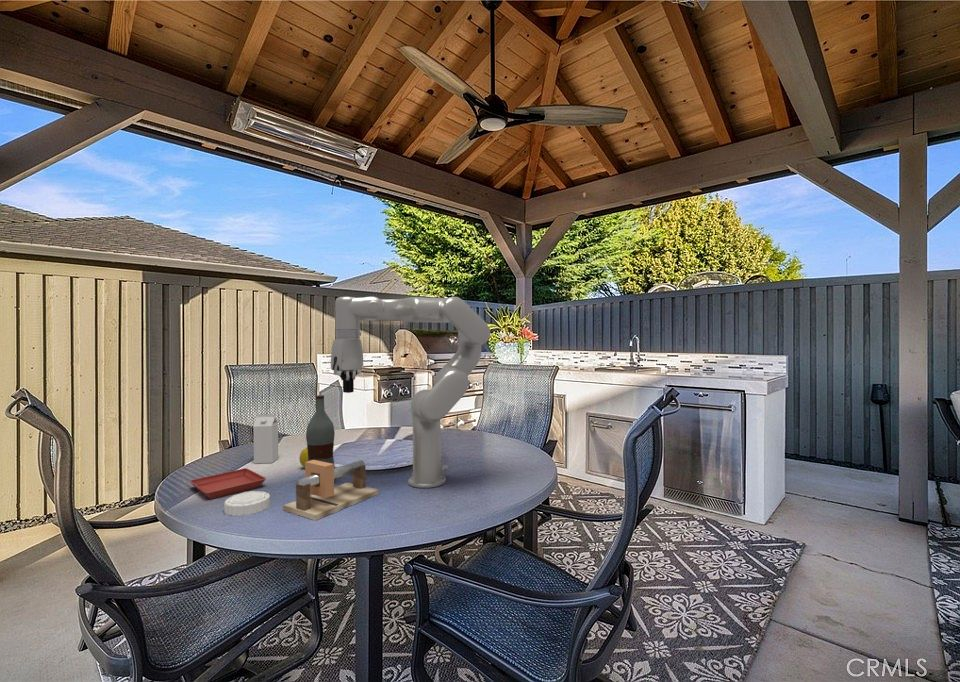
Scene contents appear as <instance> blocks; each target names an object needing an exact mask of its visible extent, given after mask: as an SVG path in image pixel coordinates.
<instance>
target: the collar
mask: <svg viewBox="0 0 960 682" xmlns="http://www.w3.org/2000/svg"><path fill="white" fill-rule="evenodd" d="M334 465H335V463H334V464H332V463H327V462H322V461H317V460H311V461H307V462H305V467H304V478H305V477H308V476H311V475H315V474H320V484H318V485H315V486H312V487H310V495H316V496H320V497H324V498H327V497H330V496H333V495H334V487H335V479H334Z"/></svg>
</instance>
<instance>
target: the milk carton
mask: <svg viewBox="0 0 960 682" xmlns="http://www.w3.org/2000/svg"><path fill="white" fill-rule="evenodd" d="M277 419H278V418H276V414H275V413H272V414H270V413H269V414H268V413H266V414H256V418H255V420H254V424H253V426H252V427H253V429H252V430H253V463H254V464H255V465H256V464H273V463H274V462H276V461H277V460H278V459H279V422H278V420H277Z"/></svg>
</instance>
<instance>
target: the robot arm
mask: <svg viewBox="0 0 960 682" xmlns="http://www.w3.org/2000/svg"><path fill="white" fill-rule="evenodd" d="M334 304H335V305H334V309H335V310H334V315H335V316H334V317H335V327H334V328H335V329H334V330H335V339H333V341H332V345H331V353H330V370H332V371H333V375H334V376H339V377H340V380H341V381H342V392H343V393H345V394H346V393H347V394H350V393H354V391H355V390H354V389H355V387H354V384H355V383H354V380H356V377H357V375H358V374H361V373H362V372H363V368H364V352H363V351H364V349H363V343H362V340H361V336H362V332H361V328H360V326H361V323H360V322H361V321H360V319H363V320H366V321H373V322H375V321H378V322H381V321H382V322H405V323H439V324H441V323H445V324H446V323H447V324H449V323H451V324H452V325H453V326H454V327H455V329H457V331H458V332H457V335H458V341H459V342H458V343H459V344H458V349H457V350H456V352H455V353H454V355H453V356H452V357H451V358H450V359H449V360H448V361H447V362H446V364H445V365H443V367H442V368H441V369H440V370H439V371H438V372H437V373H436V375H435V377H434V379H433V381H434V382H433V383H434V385H433V386H432V387H431V388H430V389H421V390H418V391H417V392H416V393H415V394H414V395H413V397H412V400H411V403H410V410H411V421H412V476H410V477H409V478H408V484H409V485H410V486H411V487H413V488H419V489H423V488H424V489H425V488H427V489H428V488H429V489H431V488H436V487H439V486H443V485H444V484H445V483H446V482H447V481H446V480H447V479H446V477H445V475H443V473H444V472H446V471H448V469H449V466H448V465H447V464H445V465H442V454H441V453H442V441H441V439H442V433H441V432H442V429H441V420H442V419H443V418H444V417H445V416H446V415H448V413H449V412H451V410H452V409H453V408H454V407H455V405H457V403H458V402H459V401H460V400H461V399H462V398H463V396H464V395H465V393H467V391H468V387H469V384H470V383H469V381H470V380H469V375H471V374H472V372H473V371H474V369H475V368H476V367H477V365H479V362H480V360H481V357H482V345H484V344H486V343H487V342H489V341H488V340H489V339H490V336H491V330H490V327H489V325H488V324H487V321H486V320H484V319H483V318H482V317H481V316H480V315H479V314H478V313H477V312H476V311H474V309H473V308H472V307H471V306H470V305H469V304H468V303H467V302H466V301H464V300H463V299H462V298H460V297H458V296H451V297H450V296H449V297H424V296H423V297H422V296H412V297H411V296H410V297H404V298H399V299H381V298H379V297H378V296H372V295H371V296H365V297H364V296H362V297H360V296H359V297H355V296H339V297H337V298H336V299H335V301H334Z"/></svg>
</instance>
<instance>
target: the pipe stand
mask: <svg viewBox="0 0 960 682" xmlns="http://www.w3.org/2000/svg"><path fill="white" fill-rule="evenodd" d="M366 467H367V466H366V465H364V466H361V467H360V470H359V471H356V472H353V473H352V482H349V481H347V482H344V483H342V484H339V485H337V486H334V495H333V496H330V497H327V498H324V497H320V496H316V495H313V494H310V484H307V485H304V486H303V485H299V484H297V482H296V483H295V501H292V502H288V503H286V504H283V505H282V509H283V510H282V511H284V512H287V513H289V514H293V515H295V516H296V515H297V516H299V515H300V516H299V517H302V516H303V517H302V518H305V517H306V519H308V518H309V520H311V519H312V520H311V521H316V522H317V521H318V520H321V519H323V518H325V517H327V516H328V517H329V516H330V515H332V514H334V513H337V512H339V510H340V511H342V510H344V509H347V508H349V507H352V506H353V505H356V504H359V503H361V502H363V501H366V500H369V499H371V498H372V497H376V496H377V495H379V494H380V493H379V489H378V488H373V487H370V486H366V485H367V483H366V482H367V481H366V479H367V478H366V477H367V475H366V473H367V472H366ZM302 486H303V489H302ZM299 487H301V488H299ZM298 488H299V489H298ZM301 489H302V490H301ZM351 505H352V506H351ZM346 507H347V508H346ZM343 508H344V509H343ZM341 509H342V510H341Z"/></svg>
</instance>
